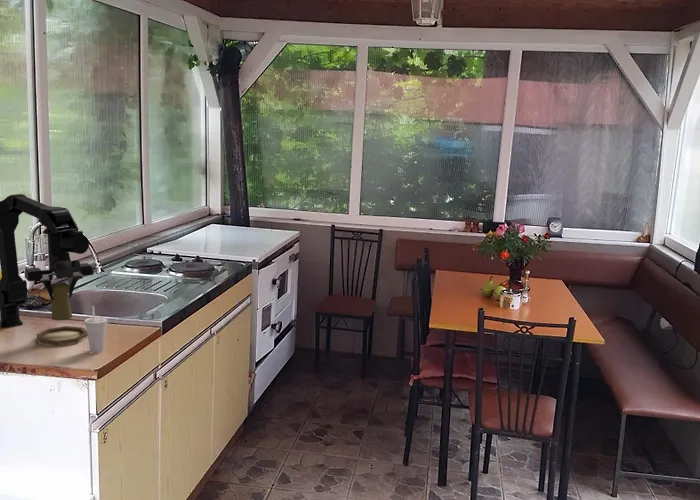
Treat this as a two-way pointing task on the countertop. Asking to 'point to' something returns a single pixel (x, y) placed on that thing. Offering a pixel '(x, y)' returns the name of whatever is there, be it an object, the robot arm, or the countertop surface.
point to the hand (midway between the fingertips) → (60, 298)
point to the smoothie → (96, 332)
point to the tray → (62, 336)
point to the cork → (61, 302)
